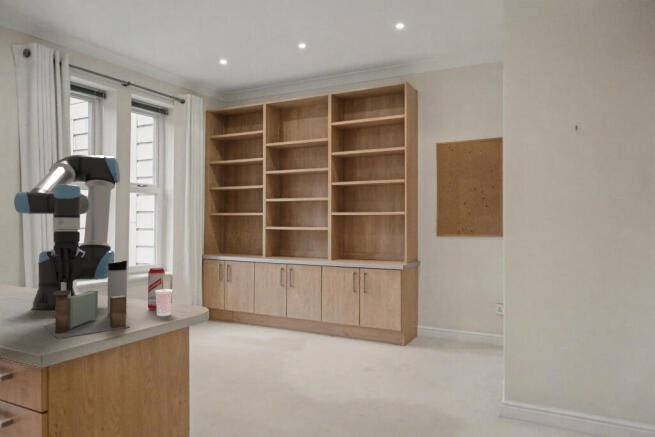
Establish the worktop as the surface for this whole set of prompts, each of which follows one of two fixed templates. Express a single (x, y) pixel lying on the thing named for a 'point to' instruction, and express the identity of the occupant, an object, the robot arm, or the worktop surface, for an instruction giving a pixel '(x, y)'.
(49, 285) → the robot arm
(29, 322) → the worktop surface
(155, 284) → the beer can
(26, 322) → the worktop surface
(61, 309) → the hinge post
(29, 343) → the worktop surface
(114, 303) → the stile
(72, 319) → the gate
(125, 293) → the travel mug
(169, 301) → the beverage cup
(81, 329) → the base mat
